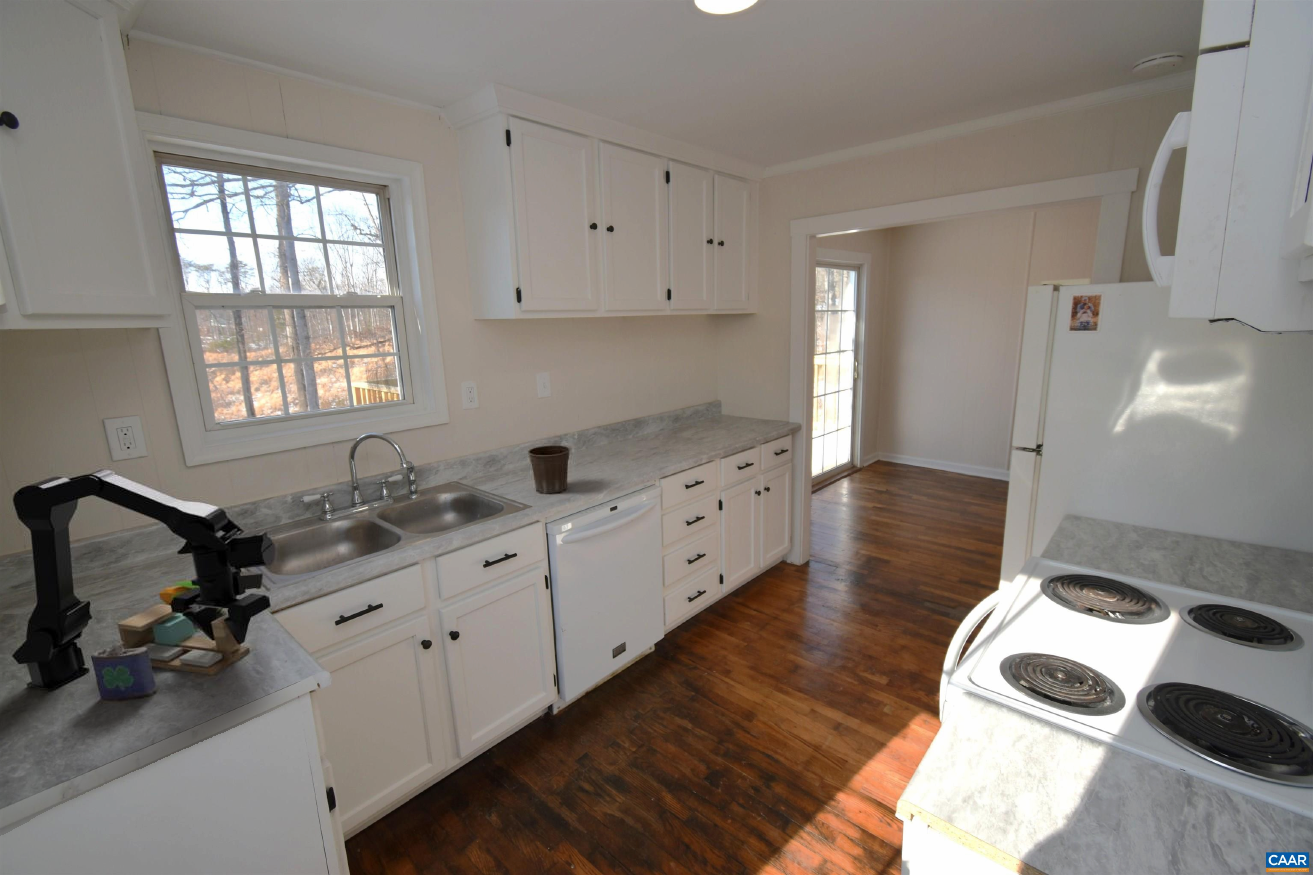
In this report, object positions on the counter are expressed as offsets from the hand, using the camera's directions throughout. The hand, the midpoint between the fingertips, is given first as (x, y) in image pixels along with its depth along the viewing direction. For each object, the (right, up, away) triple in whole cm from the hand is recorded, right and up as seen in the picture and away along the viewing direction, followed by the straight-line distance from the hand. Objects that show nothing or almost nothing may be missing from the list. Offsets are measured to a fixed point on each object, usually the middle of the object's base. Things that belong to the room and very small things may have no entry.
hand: (228, 641), depth 117 cm
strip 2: (-9, -3, -1) cm, 10 cm away
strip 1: (-8, -2, +2) cm, 9 cm away
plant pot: (+46, +21, +108) cm, 120 cm away
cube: (-14, -1, +3) cm, 14 cm away
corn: (-23, 0, +19) cm, 30 cm away
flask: (-10, -6, -11) cm, 16 cm away
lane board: (-9, -3, +1) cm, 9 cm away
